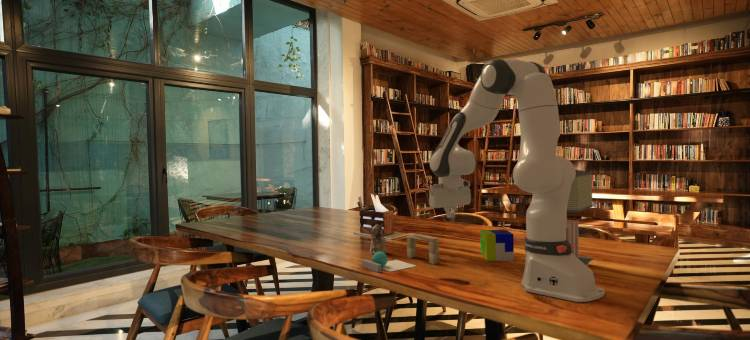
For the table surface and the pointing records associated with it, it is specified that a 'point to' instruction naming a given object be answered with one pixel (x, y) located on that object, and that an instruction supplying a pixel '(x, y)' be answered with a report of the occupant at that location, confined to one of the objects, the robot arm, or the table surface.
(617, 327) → the table surface
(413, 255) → the bridge
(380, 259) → the ball
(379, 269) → the stopper strip
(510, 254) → the puzzle toy
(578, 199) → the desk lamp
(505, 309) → the table surface
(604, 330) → the table surface
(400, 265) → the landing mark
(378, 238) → the figurine
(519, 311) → the table surface
